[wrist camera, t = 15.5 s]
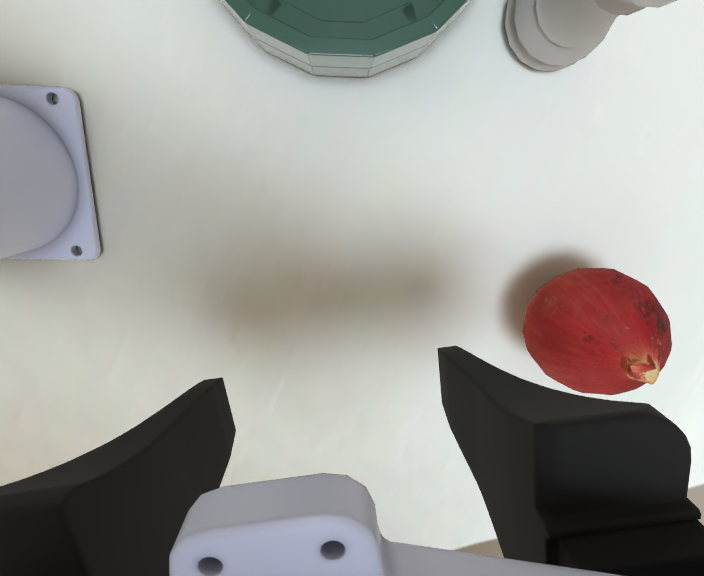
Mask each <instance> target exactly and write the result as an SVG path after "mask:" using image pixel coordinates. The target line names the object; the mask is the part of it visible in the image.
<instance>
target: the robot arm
mask: <svg viewBox="0 0 704 576" xmlns="http://www.w3.org/2000/svg"><path fill="white" fill-rule="evenodd" d="M54 94H56V95H57V97H58V103H57V104H54V103H53V101H52V96H53V95H54ZM76 246H79V247H80V248H81V250H82V254H79V253H78V252H77V251H76ZM100 254H101V248H100V241H99V234H98V227H97V220H96V213H95V206H94V199H93V192H92V185H91V178H90V171H89V164H88V157H87V150H86V143H85V136H84V129H83V122H82V115H81V108H80V101H79V98H78V95H77V94H76V93H75V92H74V91H73V90H71V89H68V88H64V87H47V86H21V85H0V259H44V260H87V261H89V260H94V259H96V258H97V257H99V255H100ZM438 359H439V371H440V383H441V395H442V404H443V407H444V410H445V413H446V416H447V419H448V422H449V425H450V428H451V430H452V432H453V434H454V436H455V439H456V441H457V443H458V445H459V447H460V449H461V451H462V453H463V455H464V457H465V459H466V461H467V463H468V465H469V467H470V469H471V471H472V473H473V475H474V477H475V480H476V482H477V484H478V486H479V489H480V491H481V493H482V496H483V498H484V501H485V504H486V507H487V510H488V512H489V515H490V518H491V521H492V523H493V526H494V529H495V532H496V535H497V538H498V541H499V544H500V547H501V549H502V553H503V555H504V558H499V557H493V556H486V555H479V554H472V553H465V552H459V551H452V550H445V549H438V548H431V547H425V546H418V545H411V544H404V543H397V542H391V541H388V540H386V539H385V538H384V537H383V536H382V534H381V533H380V530H379V527H378V523H377V516H376V509H375V504H374V502H373V500H372V498H371V496H370V494H369V492H368V490H367V488H366V486H364V485H362V484H361V483H359V482H357V481H356V480H354V479H352V478H351V477H349V476H348V475H339V474H327V473H321V474H313V475H306V476H298V477H291V478H283V479H276V480H268V481H261V482H253V483H246V484H238V485H231V486H223V487H220V484H221V481H222V479H223V476H224V473H225V470H226V468H227V465H228V462H229V459H230V456H231V451H232V447H233V442H234V437H235V432H236V429H235V425H234V421H233V417H232V413H231V409H230V405H229V401H228V397H227V393H226V389H225V385H224V381H223V378H216V379H208V380H204V381H202V382H200V383H198V384H197V385H195V386H194V387H192V388H191V389H189V390H188V391H186V392H185V393H183V394H182V395H181V396H179V397H178V398H177V399H175V400H174V401H172V402H171V403H170V404H168V405H167V406H165V407H164V408H163V409H161V410H160V411H158V412H157V413H155V414H154V415H152V416H151V417H149V418H148V419H146V420H145V421H143V422H142V423H140V424H139V425H137V426H136V427H134V428H132V429H131V430H129V431H127V432H126V433H124V434H122V435H121V436H119V437H117V438H115V439H113V440H112V441H110V442H108V443H106V444H104V445H102V446H100V447H98V448H96V449H94V450H92V451H90V452H88V453H86V454H83V455H81V456H79V457H77V458H75V459H73V460H71V461H68V462H66V463H64V464H61V465H59V466H56V467H54V468H52V469H49V470H46V471H44V472H41V473H39V474H36V475H33V476H31V477H28V478H25V479H22V480H19V481H16V482H13V483H10V484H7V485H4V486H0V576H704V526H703V525H702V524H701V523H700V522H699V521H698V520H697V519H700V518H701V513H700V510H699V509H698V508H697V507H696V506H695V505H694V504H693V503H692V502H691V501H690V500H689V499H688V498H687V491H688V482H689V474H690V466H691V447H690V445H689V442H688V440H687V437H686V435H685V434H684V433H683V432H682V431H681V430H680V429H679V428H678V426H676V425H675V424H674V423H673V422H671V421H670V420H669V419H668V418H666V417H665V416H664V415H663V414H661V413H660V412H659V411H657V410H656V409H655V408H654V407H652V406H651V405H650V404H646V403H634V402H622V401H611V400H603V399H597V398H591V397H585V396H580V395H575V394H570V393H566V392H562V391H558V390H554V389H550V388H547V387H544V386H540V385H538V384H535V383H532V382H529V381H526V380H523V379H521V378H518V377H516V376H514V375H512V374H509V373H507V372H505V371H503V370H501V369H499V368H497V367H495V366H493V365H491V364H489V363H487V362H485V361H483V360H481V359H480V358H478V357H476V356H474V355H473V354H471V353H469V352H467V351H465V350H464V349H462V348H460V347H458V346H451V347H443V348H438ZM219 487H220V488H219Z"/></svg>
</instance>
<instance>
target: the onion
mask: <svg viewBox="0 0 704 576" xmlns="http://www.w3.org/2000/svg"><path fill="white" fill-rule="evenodd" d="M523 334H524V338H525V342H526V346H527V350H528V352H529V353H530V355H531V356H532V357H533V359H534V360H535V361H536V363H537V364H538V365H539V366H540V368H541V369H542V370H543V371H544V373H545V374H546V375H548V376H549V377H551V378H552V379H554V380H556V381H557V382H559V383H561V384H563V385H565V386H567V387H569V388H571V389H573V390H576V391H579V392H582V393H594V394H606V395H614V394H620V393H623V392H627V391H631V390H634V389H637V388H639V387H640V386H642V385H644V384H645V383H649V384H653V383H654V382H656V380H657V377H658V375H659V372H660V371H661V370H662V369H663V367H664V366H665V363H666V361H667V359H668V356H669V354H670V351H671V346H672V342H671V330H670V321H669V318H668V315H667V314H666V312H665V311H664V309H663V308H662V306H661V305H660V303H659V302H658V300H657V298H656V297H655V295H654V294H653V293H652V291H651V290H650V289H649V288H648V287H647V286H646V285H644V284H642V283H641V282H639V281H637V280H635V279H633V278H631V277H629V276H627V275H625V274H623V273H621V272H619V271H617V270H614V269H606V268H588V269H576V270H573V271H570V272H567V273H564V274H562V275H559V276H556V277H555V278H553V279H552V280H551V281H549V282H548V283H547V284H546V285H544V286H543V287H542V288H540V289H539V290H538V291H537V292H536V294H535V295H534V297H533V298H532V300H531V301H530V303H529V304H528V306H527V310H526V315H525V320H524V325H523Z"/></svg>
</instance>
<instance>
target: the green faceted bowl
mask: <svg viewBox="0 0 704 576" xmlns="http://www.w3.org/2000/svg"><path fill="white" fill-rule="evenodd" d="M220 1H221V2H222V4H223V5H224V6H225V7H226V8H227V10H228V11H229V12H230V13H231V14H232V15H233V16H234V17H235V19H236V20H237V21H238V22H239V23H240V24H241V25H242V26H243V28H244V29H245V30H246V31H247V32H248V33H249V34H250V35H251V36H252V38H253V39H254V40H255V41H256V42H257V43H258V44H259V45H260V47H261V48H263V49H264V50H265V51H266V52H268V53H270V54H272V55H274V56H276V57H278V58H280V59H282V60H285V61H287V62H289V63H291V64H293V65H295V66H297V67H299V68H301V69H303V70H305V71H307V72H309V73H311V74H313V75H314V74H315V75H326V76H351V77H369V76H372V75H374V74H377V73H379V72H382V71H384V70H386V69H389V68H391V67H394V66H396V65H399V64H401V63H404V62H406V61H408V60H411V59H413V58H416V57H417V56H419V55H420V54H421V53H422V52H423V51H424V50H425V49H426V48H427V47H428V46H429V45H430V44H431V43H432V42H433V41H434V40H435V39H436V38H437V37H438V36H439V35H440V34H441V33H442V32H443V31H444V30H445V29H446V28H447V27H448V26H449V25H450V24H451V23H452V22H453V21H454V20H455V19H456V18H457V17H458V16H459V14H460V13H461V12H462V11H463V10H464V8H465V7H466V6H467V5H468V4H469V2H470V1H471V0H220Z"/></svg>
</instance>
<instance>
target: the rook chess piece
mask: <svg viewBox="0 0 704 576" xmlns="http://www.w3.org/2000/svg"><path fill="white" fill-rule="evenodd" d="M674 1H677V0H509V1H508V3H507V11H506V20H505V28H506V32H507V36H508V41H509V45H510V47H511V48H512V49H513V51H514V52H515V54H516V55H517V56H518V58H519V59H520V61H521V62H523V63H525V64H527V65H529V66H531V67H532V68H534V69H536V70H546V71H557V70H559V69H562V68H564V67H567V66H570V65H572V64H574V63H575V62H577V61H578V60H580V59H582V58H584V57H586V56H587V55H588V54H589V53H590V52H591V51H592V50H593V49H594V48H595V47H597V46H598V45H599V44H600V43H601V42H602V41H603V39H604V38H605V36H606V34H607V32H608V31H609V29H610V27H611V25H612V23H613V22H614V20H615V18H616V17H617V16H619V15H629V14H632V13H634V12H637V11H639V10H642V9H644V8H645V7H661V6H664V5H667V4H669V3H672V2H674Z"/></svg>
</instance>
